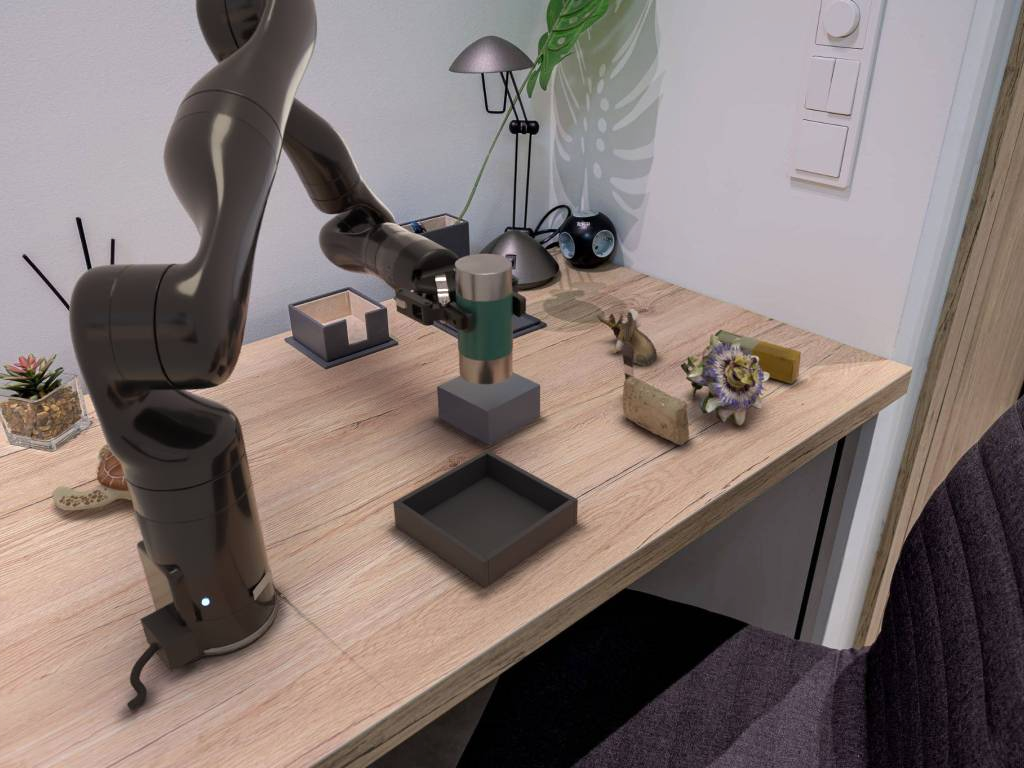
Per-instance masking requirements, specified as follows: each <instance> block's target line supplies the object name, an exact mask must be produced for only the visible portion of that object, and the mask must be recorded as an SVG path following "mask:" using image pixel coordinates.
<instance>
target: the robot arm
mask: <svg viewBox="0 0 1024 768" xmlns="http://www.w3.org/2000/svg"><path fill="white" fill-rule="evenodd" d="M315 3H316V2H315V0H195V13H196V19H197V23H198V26H199V30H200V32H201V35H202V37H203V40H204V41H205V44H206V46H207V47H208V49H209V51H210V53H211V55H212V56H213V58H214V60H215V61H216V62H217V64H216V65H215V66H213V67H212V68H211V69H210V70H208V72H206V73H205V74H203V76H201V77H200V78H199V79H198V80H197V81H196V82H195V83H194V84H193V85H192V86H191V87H190V89H189V90H188V91H187V92H186V94H185V96H184V97H183V99H182V100H181V102H180V104H179V105H178V109H177V111H176V113H175V116H174V118H173V120H172V124H171V126H170V129H169V132H168V134H167V136H166V140H165V144H164V149H163V155H162V156H163V157H162V158H163V159H162V160H163V166H164V170H165V174H166V177H167V181H168V183H169V184H170V185H169V186H170V187H171V189H172V191H173V193H174V194H175V196H176V198H177V200H178V201H179V203H180V205H181V206H182V208H183V209H184V211H185V212H186V213H187V215H188V217H189V218H190V219H191V221H192V222H193V224H194V226H195V228H196V231H197V233H198V235H199V237H200V242H199V245H198V248H197V251H196V253H195V254H194V256H193V257H192V258H191V259H190V260H188V261H187V262H183V263H182V262H181V263H125V264H124V263H123V264H122V263H121V264H104V265H103V264H102V265H97V266H94V267H92V268H89V269H87V270H86V271H84V272H83V274H81V276H80V277H79V278H78V279H77V281H76V282H75V284H74V286H73V289H72V292H71V296H70V300H69V309H68V321H69V332H70V339H71V344H72V349H73V352H74V355H75V360H76V362H77V366H78V369H79V372H80V374H81V377H82V380H83V383H84V386H85V387H86V390H87V393H88V396H89V398H90V402H91V403H92V406H93V409H94V411H95V413H96V417H97V419H98V423H99V425H100V428H101V431H102V433H103V437H104V440H105V442H106V445H108V447H109V449H110V451H111V452H112V454H113V455H114V456H115V457H116V458H117V460H118V461H119V462H120V464H121V467H122V470H123V473H124V476H125V480H126V483H127V487H128V490H129V493H130V497H131V500H130V501H131V503H132V507H133V512H134V513H135V517H136V521H137V524H138V527H139V531H140V535H141V537H142V538H141V539H142V540H140V541H138V542H137V543H136V548H137V552H138V556H139V559H140V562H141V566H142V568H143V573H144V575H145V579H146V582H147V585H148V589H149V592H150V597H151V598H152V603H153V605H154V609H155V611H153V612H151V613H149V614H147V615H146V616H144V617H141V618H140V622H141V626H142V629H143V633H144V635H145V639H146V642H147V645H149V646H148V648H146V650H145V651H144V652H143V653H142V655H141V656H140V657H139V658H138V659H137V661H135V663H134V665H133V667H132V669H131V671H130V675H129V682H130V686H131V687H132V688H133V690H134V691H136V693H137V694H136V696H135V697H134V698H132V699H131V700H129V701H128V702H127V704H126V705H127V708H129V709H130V710H132V711H134V710H136V709H137V708H138V707H140V706H141V705H142V704H143V703H144V702H145V700H146V698H147V695H148V692H147V691H148V690H147V687H146V686H145V684H144V683H143V682H142V681H141V678H140V677H141V674H142V671H143V669H144V667H145V666H146V665H147V663H148V662H149V661H150V660H151V659H152V658H153V656H154V655H157V656H158V657H159V658H160V659H161V661H162V662H163V663H164V665H165V666H166V667H167V668H168V669H169V670H170V671H171V672H173V671H175V670H177V669H178V668H180V667H182V666H183V665H186V663H188V662H196V661H198V660H200V659H201V658H203V657H206V656H217V655H222V654H226V653H227V654H228V653H230V652H234V651H237V650H239V649H242V648H243V647H245V646H248V645H249V644H251V643H253V642H254V641H256V640H257V639H258V638H259V637H261V636H262V635H263V634H264V633H265V632H266V631H267V630H268V629H269V628H270V627H271V625H272V624H273V622H274V620H275V618H276V616H277V614H278V609H279V601H278V596H277V593H276V590H275V589H276V588H275V585H274V581H273V573H272V569H271V567H270V562H269V558H268V553H267V548H266V544H265V538H264V534H263V529H262V528H263V527H262V523H261V519H260V513H259V509H258V504H257V503H258V502H257V500H256V495H255V494H256V493H255V490H254V489H255V488H254V485H253V480H252V474H251V469H250V466H249V465H250V464H249V460H248V454H247V449H246V443H245V439H244V434H243V433H244V432H243V428H242V424H241V422H240V419H239V418H238V416H237V415H236V414H235V413H234V411H233V410H232V409H230V408H229V407H227V406H225V405H224V404H222V403H220V402H218V401H215V400H213V399H210V398H206V397H203V396H200V395H198V394H195V393H192V392H191V391H194V390H195V391H196V390H206V389H212V388H216V387H219V386H221V385H223V384H224V383H225V382H227V381H228V380H229V379H230V378H231V376H232V374H233V372H234V371H235V368H236V366H237V365H238V361H239V358H240V354H241V351H242V347H243V342H244V337H245V332H246V331H245V330H246V324H247V319H248V312H249V311H248V310H249V305H250V304H249V303H250V297H251V296H250V295H251V291H252V289H251V288H252V281H253V274H254V267H255V262H256V261H255V260H256V253H257V247H258V242H259V237H260V233H261V229H262V226H263V222H264V221H263V220H264V217H265V212H266V208H267V205H268V201H269V198H270V195H271V191H272V187H273V185H274V181H275V178H276V174H277V171H278V166H279V163H280V160H281V159H280V158H281V154H282V151H283V152H284V154H285V155H286V157H287V158H288V160H289V162H290V163H291V165H292V168H293V169H294V171H295V172H296V173H295V174H297V176H298V178H299V181H300V182H301V184H302V186H303V188H304V190H305V191H306V194H307V195H308V197H309V199H310V201H311V203H312V204H313V205H314V207H315V209H316V210H318V211H319V212H321V213H322V214H326V215H335V216H333V217H332V218H330V219H329V220H327V221H326V222H325V223H324V224H323V225H322V227H321V228H320V230H319V232H318V245H319V248H320V251H321V253H322V254H323V256H324V257H325V258H326V259H327V260H328V261H329V262H330V263H331V264H333V265H334V266H336V267H337V268H339V269H341V270H343V271H346V272H350V273H355V274H361V275H369V276H375V277H377V278H379V280H382V281H383V282H384V283H385V284H386V285H387V286H388V287H390V288H391V289H392V291H394V293H395V294H394V295H395V308H396V312H397V313H399V314H401V315H403V316H405V317H407V318H409V319H411V320H412V321H415V322H417V323H419V324H421V325H423V326H426V327H429V326H433V325H434V323H435V322H436V321H439V323H441V324H444V325H445V324H448V325H450V327H452V328H454V329H456V330H457V329H458V330H462V331H464V332H465V333H469V332H472V331H473V330H474V326H473V315H472V313H471V312H469V311H468V310H466V309H465V308H463V307H461V306H459V305H458V304H456V277H455V263H456V261H457V260H459V259H460V258H459V256H458V255H457V254H456V253H455V252H453V251H452V250H450V249H448V248H446V247H444V246H442V244H441V245H440V244H439V243H436V242H435V241H434V240H431V239H429V238H427V237H426V236H424V235H421V234H419V233H413V232H411V231H410V230H408V229H406V228H405V227H402V226H400V225H399V224H397V222H396V219H395V216H394V214H393V213H392V212H391V210H390V209H389V208H388V207H387V206H386V205H385V204H384V203H383V202H382V201H381V200H380V199H379V197H377V195H375V193H373V191H372V190H371V188H370V187H369V186H368V184H367V183H366V182H365V180H364V179H363V177H362V175H361V173H360V171H359V169H358V167H357V165H356V162H355V160H354V157H353V156H352V153H351V151H350V149H349V147H348V145H347V143H346V141H345V140H344V138H343V137H342V136H341V134H340V133H339V132H338V130H337V129H336V128H335V127H334V126H333V125H332V124H331V123H329V122H328V121H327V120H326V119H325V118H324V117H322V116H321V115H320V114H318V113H317V112H315V111H314V110H313V109H312V108H310V107H309V106H307V105H305V104H304V103H303V102H302V101H300V100H299V99H298V98H296V95H297V92H298V90H299V88H300V85H301V82H302V80H303V78H304V76H305V74H306V71H307V69H308V67H309V65H310V62H311V59H312V57H313V55H314V51H315V47H316V43H317V36H318V16H317V7H316V4H315ZM512 290H513V315H514V316H515V317H516V318H521V317H525V316H526V313H527V298H526V297H525V296H524V295H522V294H520V293H519V278H518V277H517V276H515V275H514V274H512Z"/></svg>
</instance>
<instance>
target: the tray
mask: <svg viewBox="0 0 1024 768" xmlns="http://www.w3.org/2000/svg"><path fill="white" fill-rule="evenodd" d="M392 505H393V513H394V523H395V524H394V525H395V527H396V528H397V529H399V530H400V531H402V532H404V533H405V534H406V535H407V536H409V537H410V538H412V539H413V540H414V541H416V542H418V543H419V544H420V545H422V546H423V547H425V548H426V549H428V550H429V551H430V552H432V553H433V554H435V555H436V556H438V557H439V558H440V559H442V560H443V561H445V562H446V563H448V564H449V565H450V566H451V567H453V568H455V569H456V570H458V571H459V572H460V573H462V574H463V575H464V576H466V577H467V578H469V579H470V580H471V581H473V582H475V583H476V584H477V585H479V586H480V587H482V588H483V589H486V588H488V586H490V585H492V584H493V583H495V582H496V581H498V580H499V579H500V578H501V577H503V576H505V575H506V574H507V573H509V572H510V571H511V570H513V569H514V568H516V567H517V566H518V565H520V564H522V563H524V562H525V561H526V560H527V559H529V558H530V557H532V556H533V555H534V554H536V553H537V552H539V551H540V550H542V549H543V548H544V547H546V546H548V544H550V543H551V542H553V541H554V540H556V539H557V538H559V537H560V536H561V535H563V534H564V533H566V532H567V531H569V530H570V529H571V528H573V527H574V526H575V525H577V524H578V509H579V508H578V507H579V506H578V505H579V499H578V498H576V497H574V496H573V495H571V494H569V493H567V492H565V491H563V490H562V489H560V488H558V487H556V486H554V485H552V484H551V483H549V482H547V481H545V480H543V479H542V478H540V477H538V476H536V475H534V474H533V473H530V472H529V471H527V470H525V469H523V468H522V467H520V466H518V465H516V464H515V463H513V462H510V461H509V460H507V459H506V458H503V457H502V456H500V455H498V454H496V453H494V452H493V451H491V450H488V449H486V450H484V451H482V452H480V453H478V454H477V455H475V456H473V457H471V458H469V459H467V460H465V461H464V462H462V463H461V464H459V465H457V466H455V467H452V469H449V470H447V471H446V472H445V473H443V474H440V475H439V476H437V477H435V478H433V479H432V480H430V481H428V482H426V483H424V484H423V485H421V486H419V487H417V488H416V489H413V490H412V491H410V492H408V493H407V494H405V495H403V496H402V497H399V498H398V499H396V500H394V501H393V502H392Z"/></svg>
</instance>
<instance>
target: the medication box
mask: <svg viewBox="0 0 1024 768" xmlns="http://www.w3.org/2000/svg"><path fill="white" fill-rule="evenodd" d="M713 335H714V336H717V337H718V340H719V341H720V342H721V343H722V345H726V343H728V344H729V345H730V343H731V342H732V341H734V340H735V339H737V338H738V339H740V347H739V348H740V349H741V351H742V350H743V349H745V352H744V355H746V354H748V355H751V356H757V357H759V362H758V365H759V366H760V369H762V371H763V372H767V373H769V375H770V376H769V378H770V379H775V380H777V381H781V382H784V383H786V384H791V385H792V384H793V383H794V382H795V381H796V380H797V379H798V377H799V375H800V363H801V355H802V352H801V351H800V350H796V349H791V348H788V347H785V346H781V345H777V344H774V343H770V342H766V341H762V340H759V339H755V338H752V337H749V336H744V335H741V334H738V333H734V332H730V331H726V330H723V329H720V330H718V331H717V332H716V333H715V334H713Z"/></svg>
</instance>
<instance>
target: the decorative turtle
mask: <svg viewBox="0 0 1024 768" xmlns="http://www.w3.org/2000/svg"><path fill="white" fill-rule="evenodd" d="M97 459H98V460H99V461H100V462H99V466H98V467H97V470H98V471H97V472H96V475H97V476H96V480H97V482H98V483H99V484H100V485H99V486H98V487H96V488H93V489H89V490H76V489H73V488H70V487H68V486H63V485H60V486H57V487H56V488H55V489H54V490H53V491H52V500H53V502H54V504H55V505H56V506H57V507H58V508H59V509H61V510H64V511H79V510H86V509H94V508H98V507H103V506H107V505H109V504H111V503H113V502H114V501H116V500H124V499H125V500H128V501H132V500H131V497H130V493H129V490H128V487H127V483H126V480H125V476H124V473H123V470H122V467H121V464H120V462H119V461H118V460H117V458H116V457H115V456H114V455H113V454H112V452H111V451H110V449H109V447H108V445H107V444H105V445H104V446H103V447H102V448H101V449H100V450H99V452H98V455H97Z"/></svg>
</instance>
